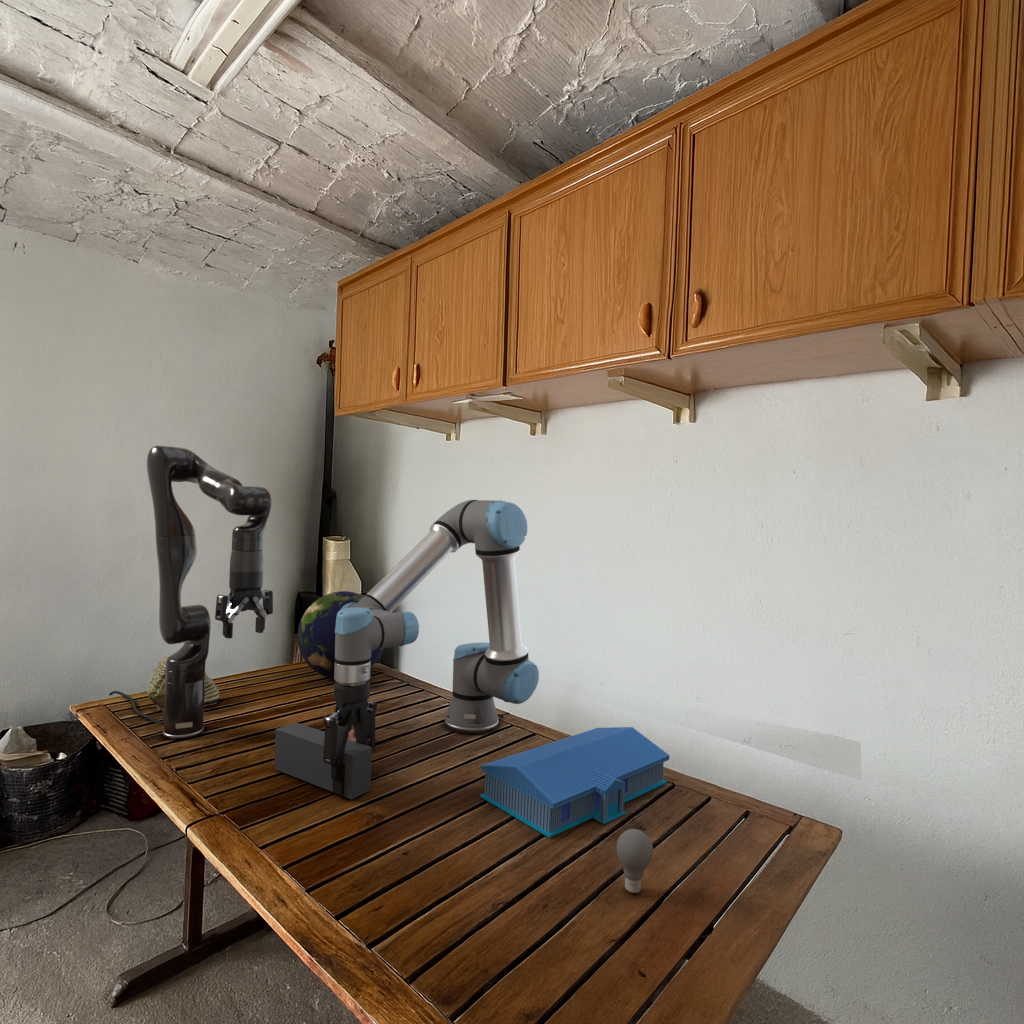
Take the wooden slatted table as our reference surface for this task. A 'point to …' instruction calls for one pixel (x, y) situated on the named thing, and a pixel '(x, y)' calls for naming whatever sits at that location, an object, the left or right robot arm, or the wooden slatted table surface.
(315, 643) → the globe
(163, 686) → the fossil
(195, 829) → the wooden slatted table surface
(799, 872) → the wooden slatted table surface
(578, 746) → the model building
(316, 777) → the bar
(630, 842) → the light bulb
